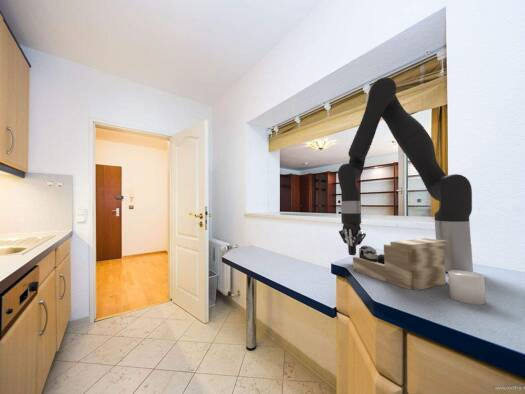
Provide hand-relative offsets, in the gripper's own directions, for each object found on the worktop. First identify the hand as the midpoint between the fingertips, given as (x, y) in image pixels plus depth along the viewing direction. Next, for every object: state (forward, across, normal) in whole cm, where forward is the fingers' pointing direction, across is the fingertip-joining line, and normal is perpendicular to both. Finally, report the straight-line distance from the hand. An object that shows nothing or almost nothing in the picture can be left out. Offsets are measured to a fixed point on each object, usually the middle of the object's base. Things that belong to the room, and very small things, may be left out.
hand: (352, 254), depth 89 cm
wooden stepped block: (+3, -19, 0) cm, 19 cm away
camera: (+4, -10, 0) cm, 11 cm away
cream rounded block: (+3, -38, +1) cm, 38 cm away
